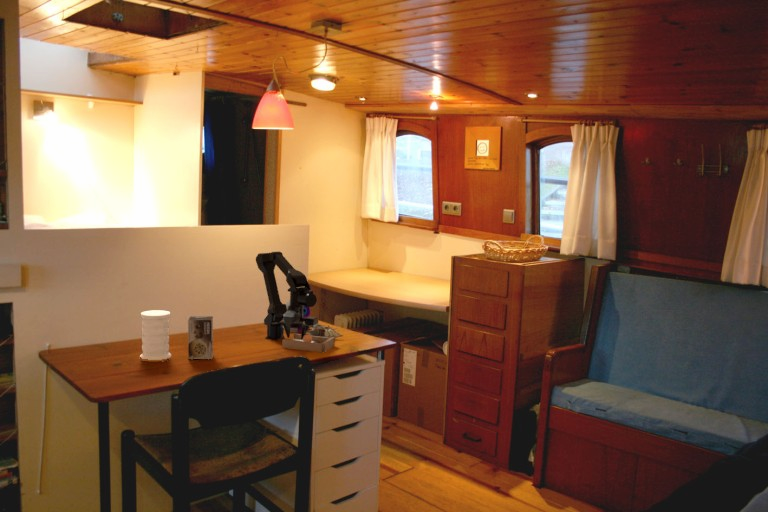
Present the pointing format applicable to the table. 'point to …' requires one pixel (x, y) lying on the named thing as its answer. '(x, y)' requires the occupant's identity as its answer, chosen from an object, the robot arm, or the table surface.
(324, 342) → the shallow open tray
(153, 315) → the decorative container
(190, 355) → the coffee box
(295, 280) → the robot arm
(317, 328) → the figurine
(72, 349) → the table surface
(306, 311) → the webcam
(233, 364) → the table surface
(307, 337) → the ball
